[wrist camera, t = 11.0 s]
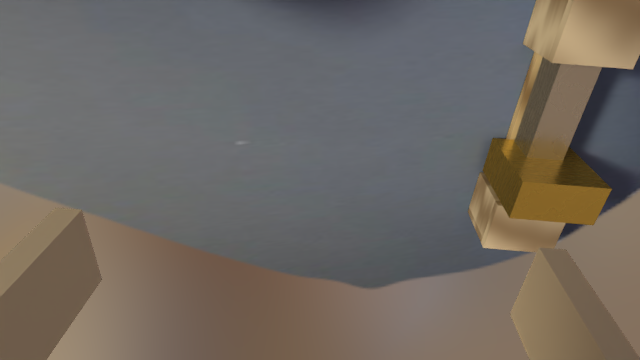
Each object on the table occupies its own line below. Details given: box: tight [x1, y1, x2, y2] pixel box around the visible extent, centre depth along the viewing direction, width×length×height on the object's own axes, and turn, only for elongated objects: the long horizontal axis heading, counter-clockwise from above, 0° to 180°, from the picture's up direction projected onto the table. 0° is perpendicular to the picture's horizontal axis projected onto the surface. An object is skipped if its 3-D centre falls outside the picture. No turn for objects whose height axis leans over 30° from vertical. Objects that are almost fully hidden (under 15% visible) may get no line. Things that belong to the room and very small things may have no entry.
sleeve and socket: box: [468, 0, 640, 252], centre depth 36 cm, size 28×7×6 cm, turn 176°
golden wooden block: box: [483, 57, 612, 225], centre depth 36 cm, size 20×7×8 cm, turn 176°
